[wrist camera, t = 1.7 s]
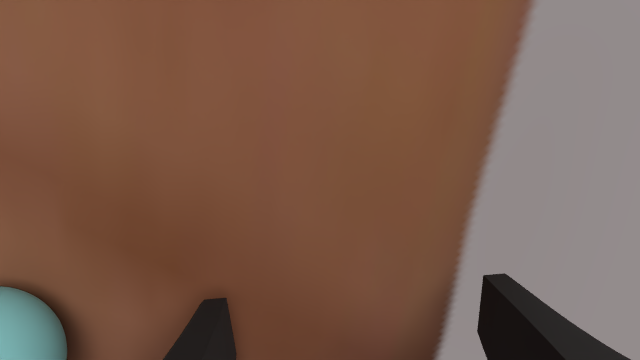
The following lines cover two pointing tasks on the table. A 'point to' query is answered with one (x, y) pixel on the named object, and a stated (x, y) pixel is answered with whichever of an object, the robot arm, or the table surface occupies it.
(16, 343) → the ball
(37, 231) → the table surface
